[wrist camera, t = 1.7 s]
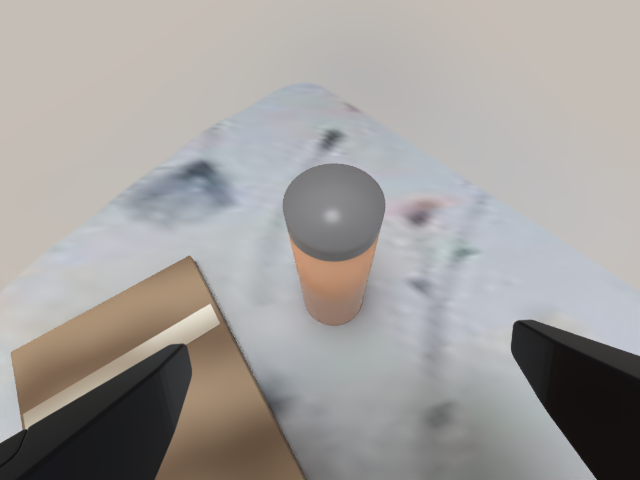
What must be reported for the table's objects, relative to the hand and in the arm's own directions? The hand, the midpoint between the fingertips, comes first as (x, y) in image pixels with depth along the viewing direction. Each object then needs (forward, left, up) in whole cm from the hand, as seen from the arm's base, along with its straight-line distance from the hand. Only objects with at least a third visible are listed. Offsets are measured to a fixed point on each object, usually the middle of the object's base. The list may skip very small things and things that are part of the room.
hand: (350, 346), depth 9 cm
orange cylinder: (+5, -3, -12) cm, 13 cm away
